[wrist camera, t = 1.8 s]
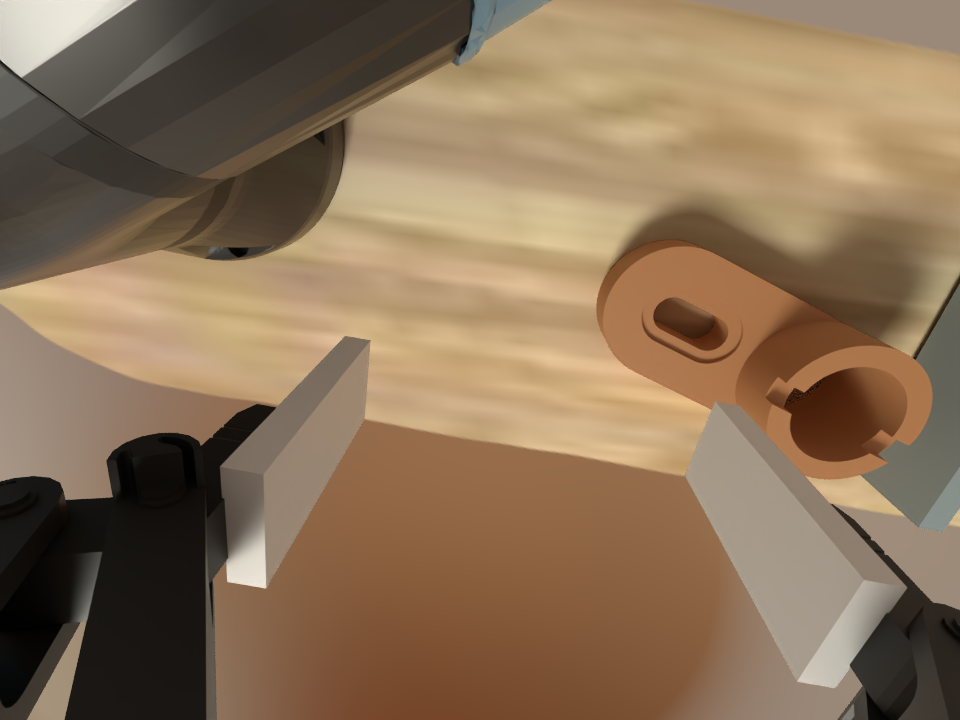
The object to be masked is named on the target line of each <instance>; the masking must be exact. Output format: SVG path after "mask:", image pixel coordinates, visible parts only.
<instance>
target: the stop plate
mask: <svg viewBox="0 0 960 720" xmlns="http://www.w3.org/2000/svg"><path fill="white" fill-rule="evenodd" d="M916 361H917V362H918V363H919V364H920V365H921V366H922V367H923V369H924V370H925V372H926V373H927V375H928V377H929V380H930V382H931V386H932V394H933V400H932V407H931V412H930V415H929V417H928V420H927V422H926V424H925V426H924V428H923V430H922V431H921V433H920V434H919V435H918V437H917V438H916V439H915V441H914V442H913V443H912V444H911V445H909V446H908V445H906V444H904V443H902V442H900V441H898V440H895V441H894V442H893V443H892V444H891V445H890V446H889V447H888V448H886V449H885V450H884V451H882V452H881V453H879V454H878V455H879V456H880V457H882V458H883V459H884V460H885V461H887V462H888V463H887V464H885V465H883V466H881V467H879V468H877V469H875V470H873V471H870V472H867V473H865V474H862V475H861V476H862V477H863V478H864V479H865V480H866V481H867V482H869V483H870V484H871V485H872V486H873V487H874V488H875V489H876V490H877V491H879V492H880V493H881V494H882V495H883V496H884V497H885V498H886V499H887V500H889V501H890V502H891V503H892V504H893V505H894V506H895V507H896V508H897V509H898V510H900V511H901V512H902V513H903V514H904V515H905V516H906V517H907V518H908V519H910V520H911V521H912V522H913V523H914V524H915V525H916V526H917V527H919V528H924V529H930V530H936V531H941V532H943V531H944V529H945V528H946V526H947V525H948V524H949V522H950V521H951V519H952V518H953V517H954V515H955V514H956V512H957V511H958V510H959V508H960V284H959V286H958V288H957V289H956V291H955V293H954V294H953V296H952V298H951V300H950V301H949V303H948V305H947V307H946V308H945V310H944V312H943V313H942V315H941V317H940V319H939V320H938V322H937V324H936V326H935V327H934V329H933V331H932V332H931V334H930V336H929V338H928V339H927V341H926V343H925V345H924V346H923V348H922V350H921V351H920V353H919V355H918V357H917V358H916Z"/></svg>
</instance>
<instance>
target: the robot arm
mask: <svg viewBox="0 0 960 720" xmlns="http://www.w3.org/2000/svg"><path fill="white" fill-rule="evenodd" d="M550 1H551V0H0V290H2V289H6V288H10V287H14V286H18V285H22V284H26V283H30V282H34V281H38V280H42V279H46V278H50V277H54V276H58V275H62V274H66V273H70V272H74V271H78V270H82V269H86V268H90V267H94V266H98V265H102V264H106V263H110V262H114V261H118V260H122V259H126V258H130V257H134V256H138V255H142V254H146V253H150V252H154V251H158V250H165V251H170V252H174V253H179V254H184V255H189V256H194V257H199V258H204V259H211V260H221V261H234V260H245V259H250V258H255V257H259V256H262V255H265V254H268V253H270V252H273V251H276V250H279V249H281V248H284V247H286V246H288V245H290V244H292V243H293V242H295V241H297V240H298V239H300V238H301V237H303V236H304V235H305V234H306V233H307V232H308V231H310V230H311V229H312V228H313V227H314V226H315V224H316V223H317V222H318V221H319V220H320V218H321V217H322V216H323V214H324V213H325V211H326V209H327V208H328V206H329V204H330V202H331V200H332V198H333V196H334V193H335V191H336V188H337V185H338V181H339V178H340V173H341V168H342V161H343V127H342V120H343V119H345V118H347V117H349V116H351V115H352V114H354V113H356V112H358V111H360V110H362V109H364V108H366V107H367V106H369V105H371V104H373V103H375V102H377V101H379V100H381V99H383V98H384V97H386V96H388V95H390V94H392V93H394V92H396V91H398V90H400V89H401V88H403V87H405V86H407V85H409V84H411V83H413V82H415V81H416V80H418V79H420V78H422V77H424V76H426V75H428V74H430V73H432V72H433V71H435V70H437V69H439V68H441V67H443V66H445V65H447V64H448V63H450V62H453V63H454V64H455V65H456V66H459V65H460V64H462V63H464V62H467V61H469V60H471V59H472V58H473V57H474V56H475V55H476V54H477V53H478V52H479V50H480V48H481V46H482V44H483V42H484V41H486V40H488V39H489V38H491V37H492V36H494V35H496V34H497V33H499V32H501V31H502V30H504V29H506V28H507V27H509V26H510V25H512V24H514V23H515V22H517V21H519V20H520V19H522V18H524V17H525V16H527V15H528V14H530V13H532V12H533V11H535V10H537V9H538V8H540V7H541V6H543V5H545V4H546V3H548V2H550ZM369 352H370V340H365V339H359V338H353V337H348V336H345V337H344V338H343V339H342V340H341V341H340V342H339V343H338V344H337V345H336V346H335V347H334V348H333V349H332V351H331V352H330V353H329V354H328V355H327V356H326V357H325V358H324V359H323V360H322V361H321V362H320V363H319V364H318V365H317V366H316V367H315V368H314V369H313V370H312V371H311V372H310V373H309V374H308V376H307V377H306V378H305V379H304V380H303V381H302V382H301V383H300V384H299V385H298V386H297V387H296V388H295V389H294V390H293V391H292V392H291V393H290V394H289V395H288V396H287V397H286V398H285V399H284V400H283V402H282V403H281V404H280V405H279V406H278V407H270V406H265V405H260V404H256V405H254V406H252V407H250V408H247V409H245V410H243V411H241V412H238V413H237V414H236V415H235V416H234V417H232V418H231V419H230V420H229V421H228V422H227V423H226V424H225V425H224V427H223V428H220V429H219V430H218V431H217V432H216V433H215V434H214V435H213V438H209V439H208V440H207V441H206V442H205V443H204V444H203V445H202V446H200V443H199V441H197V440H196V439H194V438H193V437H191V436H189V435H184V434H179V433H158V434H152V435H147V436H142V437H139V438H136V439H134V440H131V441H129V442H126V443H124V444H123V445H121V446H120V447H118V448H117V449H115V450H114V451H113V452H112V453H111V455H110V456H109V458H108V459H107V467H108V472H109V478H110V483H111V489H112V495H113V497H111V498H96V499H77V500H65V496H64V492H63V489H62V487H61V484H60V483H59V482H57V481H55V480H53V479H51V478H46V477H37V476H31V477H21V478H13V479H9V480H5V481H1V482H0V720H27V718H28V717H29V715H30V713H31V711H32V709H33V707H34V706H35V704H36V702H37V700H38V698H39V697H40V695H41V693H42V691H43V689H44V687H45V686H46V684H47V682H48V680H49V679H50V677H51V675H52V673H53V671H54V669H55V668H56V666H57V664H58V662H59V660H60V659H61V657H62V655H63V653H64V651H65V650H66V648H67V646H68V644H69V642H70V640H71V639H72V637H73V635H74V633H75V632H76V630H77V628H78V626H79V624H80V622H83V621H87V623H86V627H85V631H84V636H83V640H82V645H81V649H80V654H79V658H78V663H77V667H76V671H75V676H74V681H73V685H72V690H71V694H70V698H69V703H68V707H67V711H66V716H65V720H217V712H216V670H215V669H216V668H215V625H214V623H215V622H214V588H213V578H214V577H215V575H216V574H217V572H218V571H219V570H220V568H221V567H222V566H223V564H224V563H225V561H226V565H227V580H228V582H232V583H239V584H244V585H250V586H255V587H261V588H267V586H268V584H269V583H270V581H271V579H272V577H273V575H274V574H275V572H276V570H277V569H278V567H279V565H280V564H281V562H282V560H283V558H284V557H285V555H286V553H287V551H288V550H289V548H290V546H291V545H292V543H293V541H294V539H295V538H296V536H297V534H298V533H299V531H300V529H301V527H302V526H303V524H304V522H305V520H306V519H307V517H308V515H309V514H310V512H311V510H312V508H313V507H314V505H315V503H316V501H317V500H318V498H319V496H320V494H321V493H322V491H323V489H324V488H325V486H326V484H327V482H328V481H329V479H330V477H331V475H332V474H333V472H334V470H335V469H336V467H337V465H338V463H339V462H340V460H341V458H342V456H343V455H344V453H345V451H346V449H347V448H348V446H349V444H350V443H351V441H352V439H353V437H354V436H355V434H356V432H357V431H358V429H359V427H360V425H361V424H362V422H363V420H364V417H365V404H366V391H367V378H368V365H369ZM685 476H686V478H687V480H688V482H689V484H690V486H691V487H692V489H693V491H694V493H695V495H696V497H697V498H698V500H699V502H700V504H701V506H702V508H703V510H704V511H705V513H706V515H707V517H708V519H709V521H710V522H711V524H712V526H713V528H714V530H715V532H716V533H717V535H718V537H719V539H720V541H721V543H722V544H723V546H724V548H725V550H726V552H727V554H728V555H729V557H730V559H731V561H732V563H733V565H734V567H735V568H736V570H737V572H738V574H739V576H740V578H741V579H742V581H743V583H744V585H745V587H746V589H747V590H748V592H749V594H750V596H751V598H752V600H753V601H754V603H755V605H756V607H757V609H758V611H759V613H760V614H761V616H762V618H763V620H764V622H765V623H766V625H767V627H768V629H769V631H770V633H771V635H772V636H773V638H774V640H775V642H776V644H777V646H778V647H779V649H780V651H781V653H782V655H783V657H784V658H785V660H786V662H787V664H788V666H789V667H790V670H791V671H792V673H793V675H794V677H795V679H796V681H797V682H803V683H809V684H814V685H820V686H826V687H831V688H836V686H837V685H838V684H839V682H840V681H841V679H842V678H843V677H844V675H845V674H846V672H847V671H848V670H849V668H850V667H851V668H852V670H853V671H854V673H855V674H856V676H857V677H858V679H859V680H860V682H861V683H862V685H863V687H862V688H861V689H860V691H859V692H858V693H857V695H856V696H855V697H854V698H853V700H852V701H851V702H850V704H849V705H848V706H847V708H846V709H845V710H844V712H843V713H842V714H841V716H840V717H839V718H838V720H960V610H958V609H955V608H952V607H950V606H947V605H945V604H939V603H933V602H932V601H930V599H929V598H928V597H927V596H926V595H925V594H924V593H923V592H922V591H921V590H920V589H919V588H918V587H917V585H915V583H914V582H913V581H912V580H911V579H910V578H909V577H908V576H907V575H906V574H905V573H904V572H903V571H902V570H901V569H900V568H899V566H898V565H896V563H895V562H894V561H893V560H892V559H891V558H890V557H889V556H888V555H885V554H884V551H883V550H882V549H881V547H879V545H878V544H877V543H876V542H875V541H872V540H871V537H870V536H869V535H868V534H867V533H866V532H865V531H864V530H863V529H862V528H861V526H859V524H858V523H857V522H856V521H855V520H854V519H852V518H851V517H850V516H848V515H847V514H845V513H844V512H843V511H841V510H840V509H839V508H837V507H836V506H834V505H833V504H830V503H829V502H828V501H827V500H826V499H825V498H824V497H823V495H822V494H821V493H820V492H819V491H818V490H817V489H816V488H815V487H814V486H813V485H812V483H811V482H810V481H809V480H808V479H807V478H806V477H805V476H804V475H803V474H802V473H801V472H800V470H799V469H798V468H797V467H796V466H795V465H794V464H793V463H792V462H791V461H790V460H789V459H788V457H787V456H786V455H785V454H784V453H783V452H782V451H781V450H780V449H779V448H778V447H777V446H776V444H775V443H774V442H773V441H772V440H771V439H770V438H769V437H768V436H767V435H766V434H765V433H764V431H763V430H762V429H761V428H760V427H759V426H758V425H757V424H756V423H755V422H754V421H753V419H752V418H751V417H750V416H749V415H748V414H747V413H746V412H745V411H744V410H743V409H742V408H741V406H738V405H732V404H727V403H721V402H715V403H714V405H713V408H712V410H711V413H710V415H709V417H708V420H707V422H706V425H705V427H704V430H703V432H702V435H701V437H700V439H699V442H698V444H697V447H696V449H695V452H694V454H693V457H692V459H691V462H690V464H689V466H688V469H687V471H686V474H685Z"/></svg>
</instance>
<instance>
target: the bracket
mask: <svg viewBox="0 0 960 720" xmlns="http://www.w3.org/2000/svg"><path fill="white" fill-rule="evenodd" d="M672 297H676V298H680V299H683V300H685V301H686V302H688V303H690V304H692V305H694V306H696V307H698V308H700V309H702V310H704V311H706V312H708V313H710V314H711V315H713V317H714V324H713V327H712V329H711V330H710V331H709V332H708V333H707V334H706V335H704V336H703V337H700V338H689V337H687V336H685V335H683V334H681V333H679V332H677V331H675V330H673V329H671V328H669V327H667V326H665V325H663V324H661V323H659V322H657V321H655V320H653V314H654V310H655V308H656V307H657V305H658V304H659V303H660V302H662V301H663V300H665V299H667V298H672ZM597 319H598V324H599V327H600V330H601V332H602V334H603V336H604V338H605V340H606V342H607V344H608V345H609V347H610V349H611V351H612V352H613V354H614V355H615V356H616V358H617V359H618V360H619V361H620V362H621V363H622V364H623V365H625V366H626V367H628V368H629V369H631V370H633V371H634V372H636V373H638V374H640V375H642V376H644V377H646V378H648V379H650V380H653V381H655V382H657V383H659V384H661V385H663V386H665V387H667V388H669V389H671V390H673V391H675V392H677V393H679V394H681V395H683V396H685V397H687V398H689V399H691V400H693V401H695V402H697V403H699V404H701V405H703V406H705V407H707V408H709V409H711V410H712V408H713V405H714V403H715V402H721V403H727V404H732V405H738V406H741V408H742V409H743V410H744V411H745V412H746V413H747V414H748V415H749V416H750V417H751V418H752V419H753V421H754V422H755V423H756V424H757V425H758V426H759V427H760V428H761V429H762V430H763V431H764V433H765V434H766V435H767V436H768V437H769V438H770V439H771V440H772V441H773V442H774V443H775V444H776V446H777V447H778V448H779V449H780V450H781V451H782V452H783V453H784V454H785V455H786V456H787V457H788V459H789V460H790V461H791V462H792V463H793V464H794V465H795V466H796V467H797V468H798V469H799V470H800V472H801V473H802V474H803V475H805V476H808V477H812V478H818V479H843V478H849V477H854V476H858V475H862V474H865V473H867V472H870V471H873V470H875V469H877V468H879V467H881V466H883V465H885V464H887V463H888V462H887V461H885V460H884V459H883V458H882V457H880V456H879V455H878V454H879V453H881V452H882V451H884V450H885V449H886V448H888V447H889V446H890V445H891V444H892V443H893V442H894V441H895V440H898V441H900V442H902V443H904V444H906V445H908V446H909V445H911V444H912V443H913V442H914V441H915V439H916V438H917V437H918V435H919V434H920V433H921V431H922V430H923V428H924V426H925V424H926V422H927V420H928V417H929V415H930V412H931V407H932V400H933V394H932V386H931V382H930V380H929V377H928V375H927V373H926V372H925V370H924V369H923V367H922V366H921V365H920V364H919V363H918V362H917V361H916V360H915V359H913V358H912V357H910V356H909V355H907V354H905V353H903V352H901V351H899V350H897V349H895V348H893V347H891V346H889V345H887V344H885V343H883V342H881V341H879V340H877V339H875V338H873V337H871V336H868V335H866V334H864V333H862V332H860V331H858V330H856V329H854V328H852V327H850V326H849V325H847V324H845V323H843V322H841V321H839V320H837V319H835V318H834V317H832V316H830V315H828V314H826V313H824V312H822V311H821V310H819V309H817V308H815V307H813V306H811V305H809V304H808V303H806V302H804V301H802V300H800V299H798V298H796V297H794V296H793V295H791V294H789V293H787V292H785V291H783V290H781V289H780V288H778V287H776V286H774V285H772V284H770V283H768V282H767V281H765V280H763V279H761V278H759V277H757V276H755V275H754V274H752V273H750V272H748V271H746V270H744V269H742V268H740V267H739V266H737V265H735V264H733V263H731V262H729V261H727V260H726V259H724V258H722V257H720V256H718V255H716V254H714V253H712V252H710V251H708V250H706V249H703V248H701V247H699V246H697V245H695V244H692V243H689V242H685V241H680V240H660V241H655V242H650V243H647V244H644V245H642V246H640V247H638V248H635V249H634V250H632V251H630V252H629V253H627V254H626V255H625V256H623V257H622V258H621V259H620V260H619V261H618V262H617V263H616V264H615V265H614V266H613V267H612V268H611V270H610V271H609V272H608V274H607V275H606V277H605V279H604V281H603V283H602V285H601V287H600V290H599V294H598V298H597ZM824 377H825V378H824ZM822 378H824V380H823V382H822V383H821V384H820V385H819V386H818V388H817V389H816V390H814V391H813V392H812V393H811V394H809V395H808V396H807V397H805V398H803V399H801V400H799V401H797V402H794V403H791V404H788V405H785V402H786V400H787V398H788V396H789V395H790V393H791V392H792V390H793V389H794V388H796V389H798V390H800V391H802V392H804V393H805V392H806V390H807V389H809V388H810V387H811V386H812V385H813V384H815V383H816V382H817V381H819V380H820V379H822Z"/></svg>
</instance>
